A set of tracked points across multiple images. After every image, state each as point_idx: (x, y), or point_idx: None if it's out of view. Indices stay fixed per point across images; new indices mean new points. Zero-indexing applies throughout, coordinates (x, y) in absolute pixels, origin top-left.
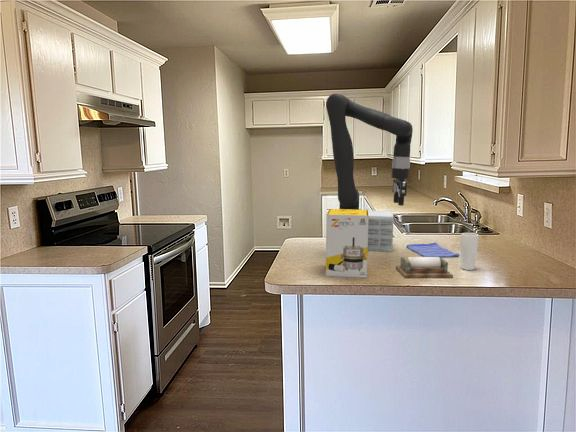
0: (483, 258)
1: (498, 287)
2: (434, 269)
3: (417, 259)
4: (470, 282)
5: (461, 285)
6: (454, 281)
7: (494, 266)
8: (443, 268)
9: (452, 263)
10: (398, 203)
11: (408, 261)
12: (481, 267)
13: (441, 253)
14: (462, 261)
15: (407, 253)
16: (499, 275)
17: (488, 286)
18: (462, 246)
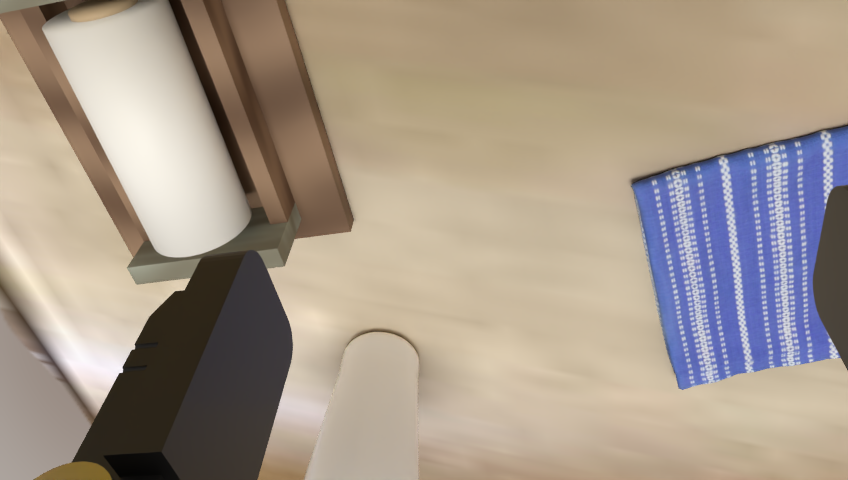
0: (641, 467)
1: (72, 391)
2: (114, 178)
3: (78, 94)
4: (96, 308)
5: (12, 259)
6: (73, 241)
7: (464, 466)
8: (141, 234)
9: (500, 309)
10: (205, 275)
11: (17, 8)
12: (430, 416)
13: (764, 299)
14: (357, 364)
15: (840, 45)
16: (289, 442)
17: (66, 361)
18: (335, 444)
